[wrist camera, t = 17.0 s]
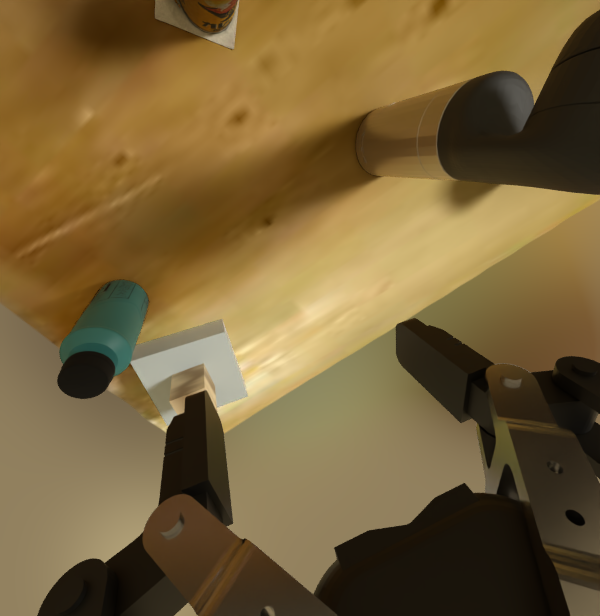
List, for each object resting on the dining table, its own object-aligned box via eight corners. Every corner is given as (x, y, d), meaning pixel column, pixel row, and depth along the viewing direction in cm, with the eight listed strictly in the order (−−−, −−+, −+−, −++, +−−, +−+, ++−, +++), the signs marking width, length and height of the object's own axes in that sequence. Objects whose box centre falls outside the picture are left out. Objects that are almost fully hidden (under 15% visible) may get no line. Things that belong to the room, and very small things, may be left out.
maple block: (203, 363, 46) (204, 387, 41) (214, 385, 49) (217, 411, 43) (172, 374, 45) (169, 401, 40) (185, 397, 48) (184, 425, 43)
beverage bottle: (115, 265, 40) (57, 338, 23) (161, 290, 44) (139, 370, 27) (91, 301, 41) (17, 396, 24) (137, 323, 45) (101, 420, 28)
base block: (222, 317, 49) (224, 331, 45) (243, 378, 56) (247, 396, 52) (135, 343, 47) (129, 361, 42) (169, 404, 53) (167, 425, 49)
